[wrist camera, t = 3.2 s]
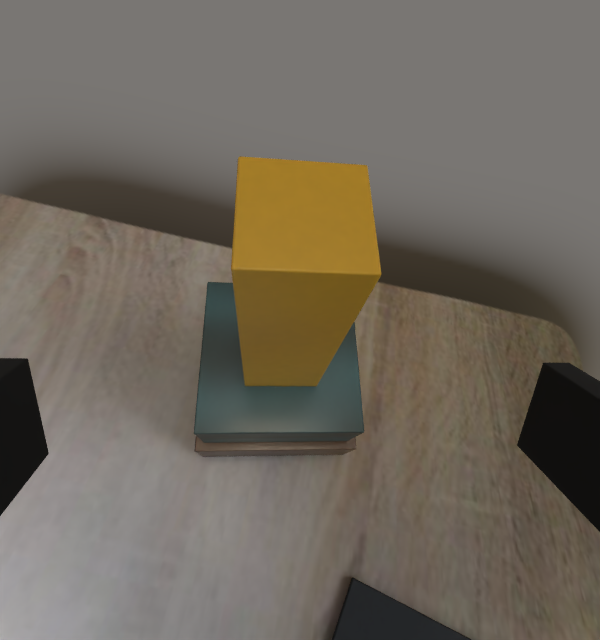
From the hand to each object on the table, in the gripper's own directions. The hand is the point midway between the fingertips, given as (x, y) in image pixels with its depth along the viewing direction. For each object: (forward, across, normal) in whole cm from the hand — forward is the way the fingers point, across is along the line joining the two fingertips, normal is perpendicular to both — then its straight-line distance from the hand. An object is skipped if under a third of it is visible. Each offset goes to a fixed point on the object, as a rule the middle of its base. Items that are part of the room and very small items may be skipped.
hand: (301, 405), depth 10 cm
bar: (+11, 0, -4) cm, 12 cm away
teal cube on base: (+17, 0, -9) cm, 19 cm away
